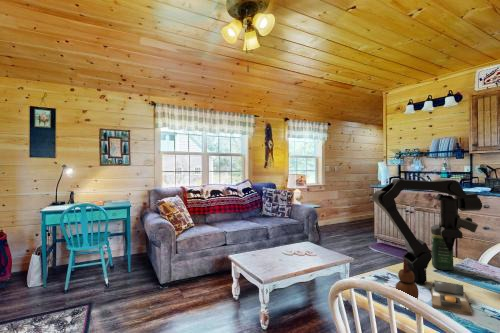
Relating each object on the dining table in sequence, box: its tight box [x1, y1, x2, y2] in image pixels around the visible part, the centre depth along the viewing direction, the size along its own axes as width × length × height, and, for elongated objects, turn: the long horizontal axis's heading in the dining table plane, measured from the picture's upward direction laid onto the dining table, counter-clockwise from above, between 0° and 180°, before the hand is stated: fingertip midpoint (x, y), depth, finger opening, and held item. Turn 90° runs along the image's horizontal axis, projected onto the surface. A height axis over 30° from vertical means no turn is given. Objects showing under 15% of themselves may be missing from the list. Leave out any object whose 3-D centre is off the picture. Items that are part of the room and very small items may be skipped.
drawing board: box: [430, 286, 473, 316], centre depth 91 cm, size 10×15×2 cm, turn 147°
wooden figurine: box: [394, 260, 419, 300], centre depth 90 cm, size 7×6×15 cm
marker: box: [430, 279, 465, 296], centre depth 95 cm, size 9×3×3 cm, turn 57°
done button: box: [445, 296, 456, 303], centre depth 87 cm, size 3×3×2 cm
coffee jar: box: [430, 224, 454, 271], centre depth 121 cm, size 10×8×19 cm
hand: (450, 250), depth 106 cm, fingers closed
